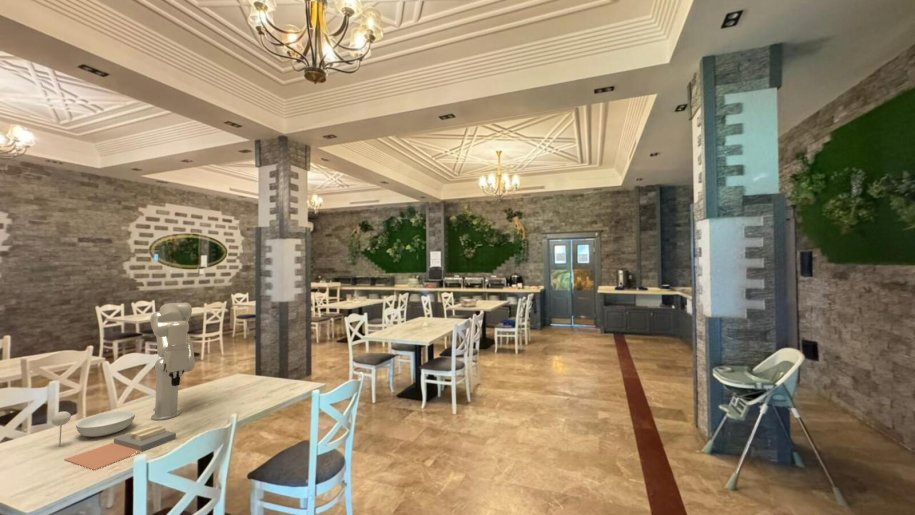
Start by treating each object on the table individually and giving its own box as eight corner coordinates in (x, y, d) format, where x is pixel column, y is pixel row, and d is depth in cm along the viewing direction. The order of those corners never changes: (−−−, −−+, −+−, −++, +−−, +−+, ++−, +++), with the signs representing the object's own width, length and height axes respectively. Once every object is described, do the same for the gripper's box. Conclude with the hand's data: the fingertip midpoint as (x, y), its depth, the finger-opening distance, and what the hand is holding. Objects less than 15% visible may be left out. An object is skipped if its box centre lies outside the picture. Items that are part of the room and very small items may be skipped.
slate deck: (113, 444, 165) (114, 438, 165) (149, 431, 178) (149, 426, 178) (140, 451, 158) (141, 445, 158) (175, 438, 171) (176, 433, 171)
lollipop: (72, 444, 165) (74, 410, 166) (54, 450, 159) (56, 415, 160) (64, 442, 167) (66, 408, 168) (46, 447, 161) (48, 413, 162)
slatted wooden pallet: (129, 437, 166) (130, 433, 166) (154, 429, 175) (155, 425, 175) (140, 440, 163) (140, 436, 163) (165, 431, 172) (165, 427, 172)
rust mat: (64, 460, 151) (64, 459, 151) (112, 443, 165) (112, 442, 165) (94, 470, 142) (94, 469, 142) (142, 452, 157) (142, 451, 157)
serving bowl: (66, 445, 163) (66, 430, 164) (86, 428, 182) (87, 414, 182) (126, 436, 173) (127, 421, 173) (140, 421, 192) (140, 407, 192)
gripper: (187, 344, 189) (186, 380, 188) (155, 350, 176) (153, 388, 175) (197, 345, 187) (196, 382, 186) (165, 351, 173) (163, 390, 172)
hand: (175, 385), depth 180 cm, fingers closed
